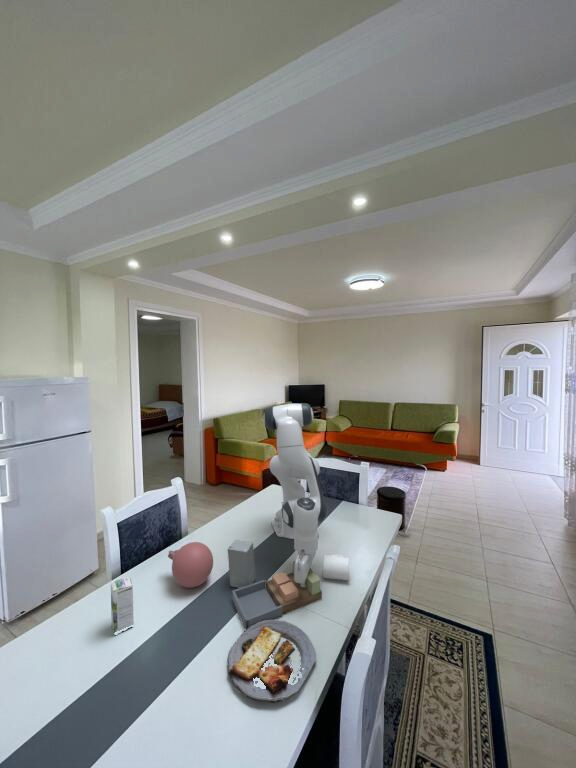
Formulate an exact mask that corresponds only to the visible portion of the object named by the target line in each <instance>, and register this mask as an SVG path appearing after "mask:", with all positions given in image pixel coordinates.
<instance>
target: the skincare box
mask: <svg viewBox="0 0 576 768" xmlns="http://www.w3.org/2000/svg"><path fill="white" fill-rule="evenodd" d="M227 559H228V571H229V573H228V574H229V586H230V587H233V588H236V589H239V588H242V587H245V586H248V585H251V584H254V583H255V581H256V577H257V576H256V563H255V547H254V542H253V541H245V540H241V539H234V541H233V542H232V543H231V544H230V545H229V547H227Z"/></svg>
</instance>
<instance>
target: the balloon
mask: <svg viewBox="0 0 576 768" xmlns="http://www.w3.org/2000/svg"><path fill="white" fill-rule="evenodd" d="M167 557H168V559H170V560H172V564H171V574H172V576H173V578H174V581H175V582H176V583H177V584H178V585H179V586H181V587H183V588H188V589H189V588H190V589H191V588H192V589H193V588H196V587H199V586H201V585H202V584H203V583H205V581H207V580H208V578H209V577H210V575H211V574H212V572H213V571H212V570H213V568H214V556H213V553H212V551H211V549H210V548H209V547H208V546H207V545H206V544H205V543H203V542H200V541H192V542H188V543H186V544H184V545H183V546H181V547H180V548H179V549H175V550H169V551H168V554H167Z"/></svg>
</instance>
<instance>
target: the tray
mask: <svg viewBox="0 0 576 768" xmlns="http://www.w3.org/2000/svg"><path fill="white" fill-rule="evenodd" d="M231 601H232V603H233V606H234V608H235V607H236V608H235V610H236V612H237V614H238V616H239V618H241V619H240V620H242V621H241V623H242V622H243V623H242V625H243V627H244V629H247V628H248V627H251V626H252V625H255V624H257V623H258V622H261V621H266V620H278V619H280V618H283V615H282V605H280V606H278V607H277V606H276V604H275V602H274V601H273V599H272V598H271V596H270V594H269V593H268V591H267V590H266V579H263V580H260V581H257V582H253V584H251V585H248V586H245V587H242V588H236V589H233V590H231Z"/></svg>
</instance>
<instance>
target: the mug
mask: <svg viewBox="0 0 576 768" xmlns="http://www.w3.org/2000/svg"><path fill="white" fill-rule="evenodd" d="M322 576H323V578H326V579H332V580H339V581H340V580H341V581H350V557H349V556H348V557H346V556H344V555H342V554H338V553H337V554H332V555H329V554H324V555H323V562H322Z"/></svg>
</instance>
